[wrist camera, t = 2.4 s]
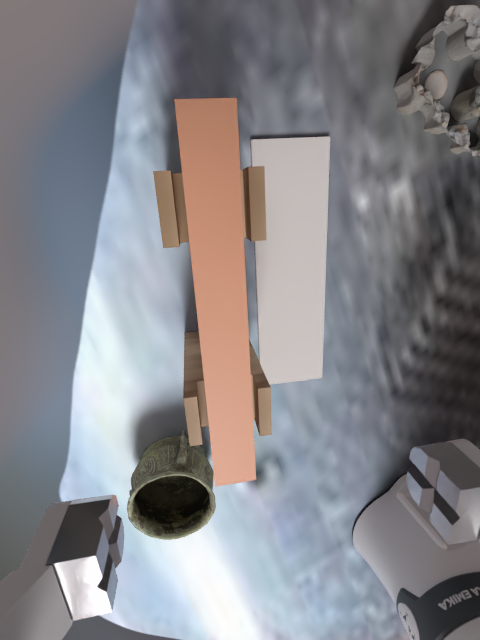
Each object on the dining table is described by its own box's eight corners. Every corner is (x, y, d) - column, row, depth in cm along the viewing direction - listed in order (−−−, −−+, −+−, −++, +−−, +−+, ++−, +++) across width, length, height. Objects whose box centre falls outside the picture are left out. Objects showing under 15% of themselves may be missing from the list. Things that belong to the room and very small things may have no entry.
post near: (235, 179, 30) (264, 166, 18) (237, 225, 31) (266, 240, 20) (166, 182, 29) (153, 171, 18) (172, 230, 30) (163, 247, 19)
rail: (229, 112, 19) (236, 97, 16) (249, 451, 27) (256, 479, 24) (176, 114, 19) (174, 99, 16) (212, 456, 27) (215, 486, 24)
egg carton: (379, 100, 29) (407, 85, 26) (433, 11, 28) (472, -19, 24) (460, 168, 32) (496, 164, 29) (512, 92, 31) (558, 77, 27)
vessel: (200, 504, 42) (202, 554, 36) (127, 498, 40) (116, 550, 34) (223, 423, 38) (229, 464, 32) (144, 413, 36) (135, 454, 30)
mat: (328, 137, 30) (330, 136, 29) (320, 376, 38) (322, 377, 37) (250, 140, 29) (251, 139, 28) (260, 383, 37) (260, 385, 37)
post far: (243, 326, 34) (270, 387, 23) (245, 361, 36) (271, 434, 25) (184, 332, 34) (183, 398, 22) (188, 367, 35) (189, 446, 24)
